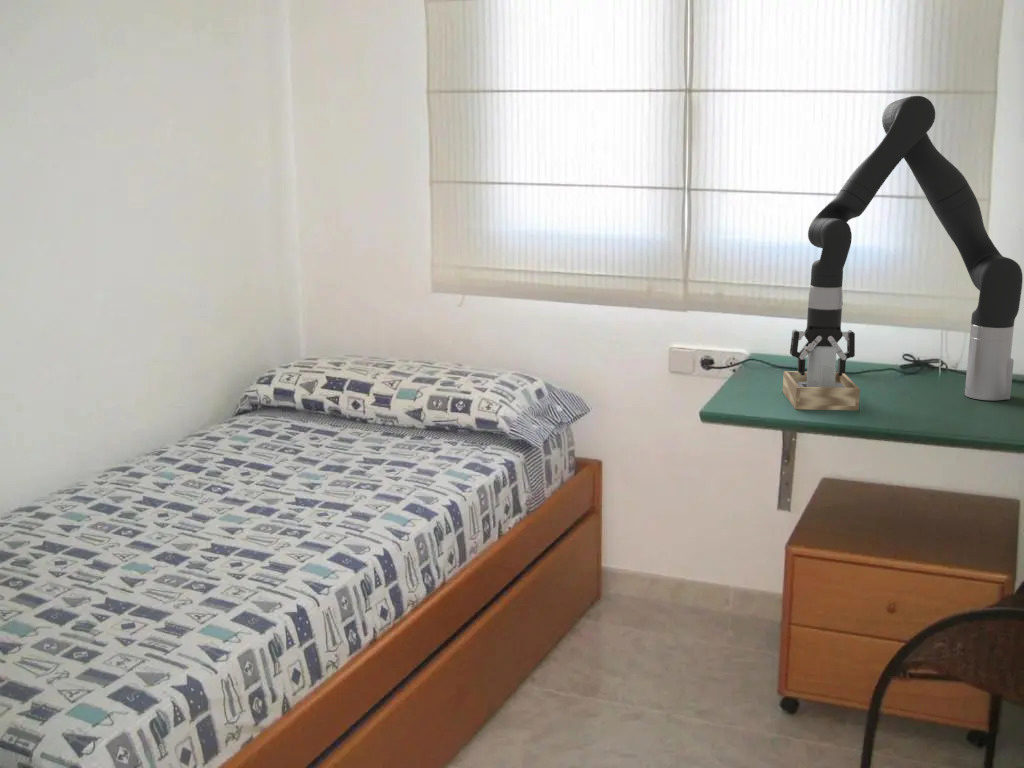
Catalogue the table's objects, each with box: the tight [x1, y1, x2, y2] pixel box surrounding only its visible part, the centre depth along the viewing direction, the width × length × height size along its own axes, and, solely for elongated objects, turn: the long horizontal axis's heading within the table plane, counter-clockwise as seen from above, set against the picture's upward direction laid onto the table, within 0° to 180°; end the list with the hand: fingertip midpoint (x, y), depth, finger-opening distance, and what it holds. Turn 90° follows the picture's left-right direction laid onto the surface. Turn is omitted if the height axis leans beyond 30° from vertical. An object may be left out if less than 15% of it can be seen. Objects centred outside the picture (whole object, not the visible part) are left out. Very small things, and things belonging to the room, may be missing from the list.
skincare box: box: [806, 346, 837, 388], centre depth 259 cm, size 6×4×12 cm
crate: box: [782, 370, 861, 411], centre depth 260 cm, size 14×18×5 cm
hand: (820, 375), depth 259 cm, fingers open, 8 cm apart
